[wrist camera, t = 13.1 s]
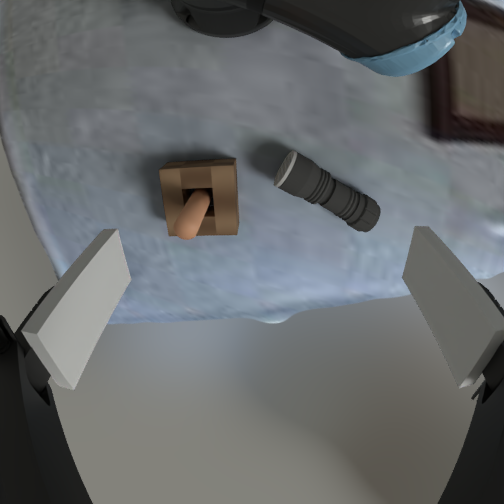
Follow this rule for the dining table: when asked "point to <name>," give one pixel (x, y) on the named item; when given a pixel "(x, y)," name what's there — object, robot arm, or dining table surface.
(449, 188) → the dining table surface
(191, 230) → the peg
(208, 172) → the socket block
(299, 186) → the flashlight
